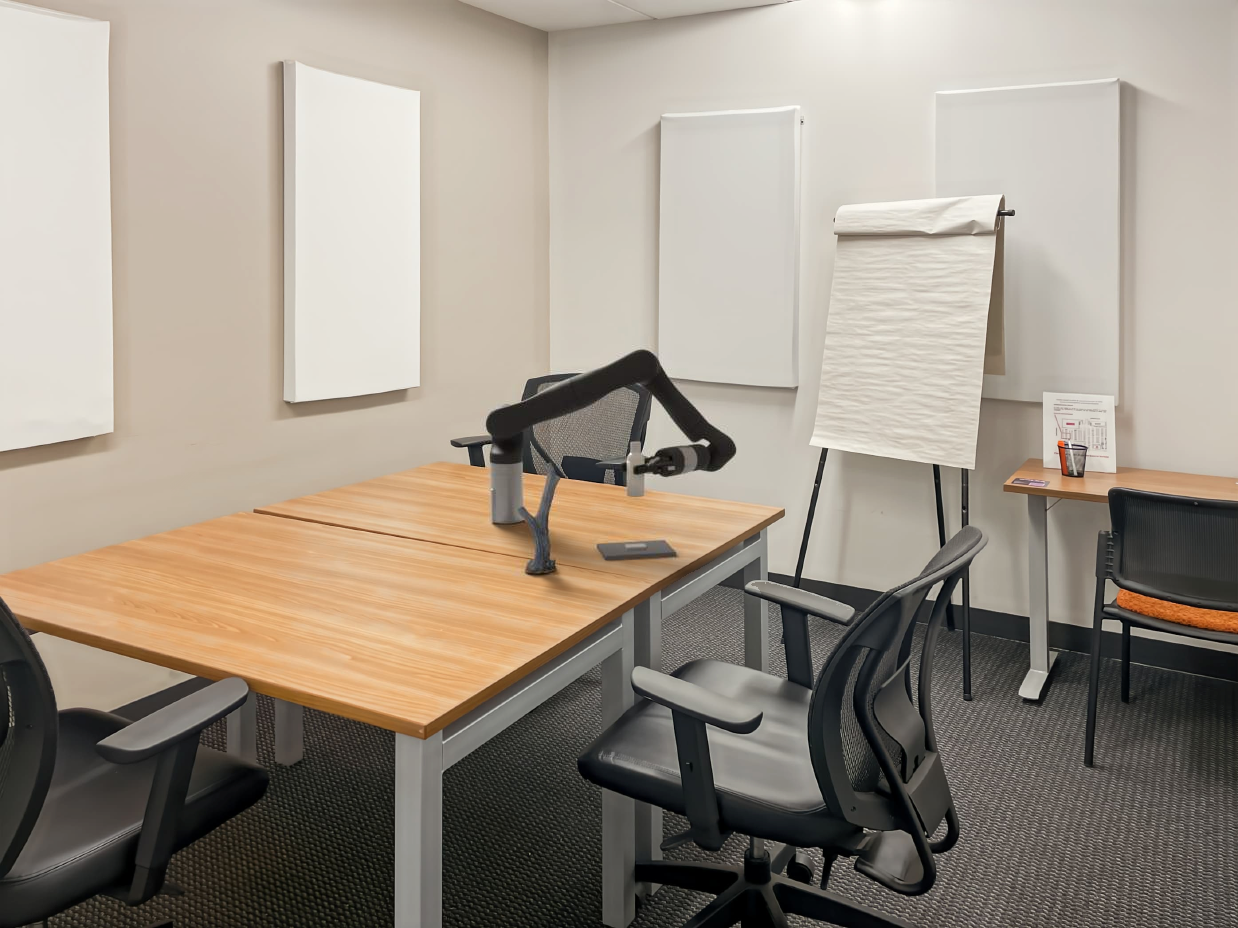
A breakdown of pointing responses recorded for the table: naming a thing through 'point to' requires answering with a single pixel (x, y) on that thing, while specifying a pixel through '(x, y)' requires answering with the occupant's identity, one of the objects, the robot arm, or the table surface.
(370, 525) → the table surface
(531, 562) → the bare tree trunk
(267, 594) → the table surface
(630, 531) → the table surface
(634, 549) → the dock mat
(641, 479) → the white tabbed cylinder
